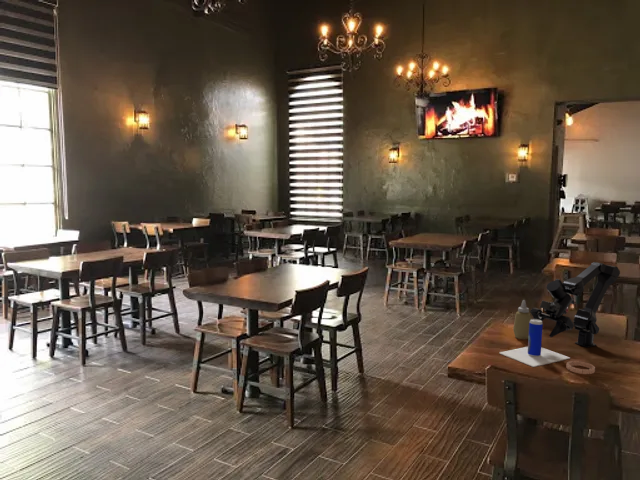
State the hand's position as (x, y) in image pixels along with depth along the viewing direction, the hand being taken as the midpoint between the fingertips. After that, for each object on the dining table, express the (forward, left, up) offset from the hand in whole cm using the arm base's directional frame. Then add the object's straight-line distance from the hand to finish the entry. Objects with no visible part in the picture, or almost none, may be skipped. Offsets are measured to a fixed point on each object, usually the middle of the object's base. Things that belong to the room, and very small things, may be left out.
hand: (540, 333), depth 225 cm
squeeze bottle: (-12, -20, -9) cm, 25 cm away
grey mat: (+3, 0, -9) cm, 10 cm away
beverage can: (+4, 0, -9) cm, 10 cm away
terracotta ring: (-1, +19, -9) cm, 21 cm away
